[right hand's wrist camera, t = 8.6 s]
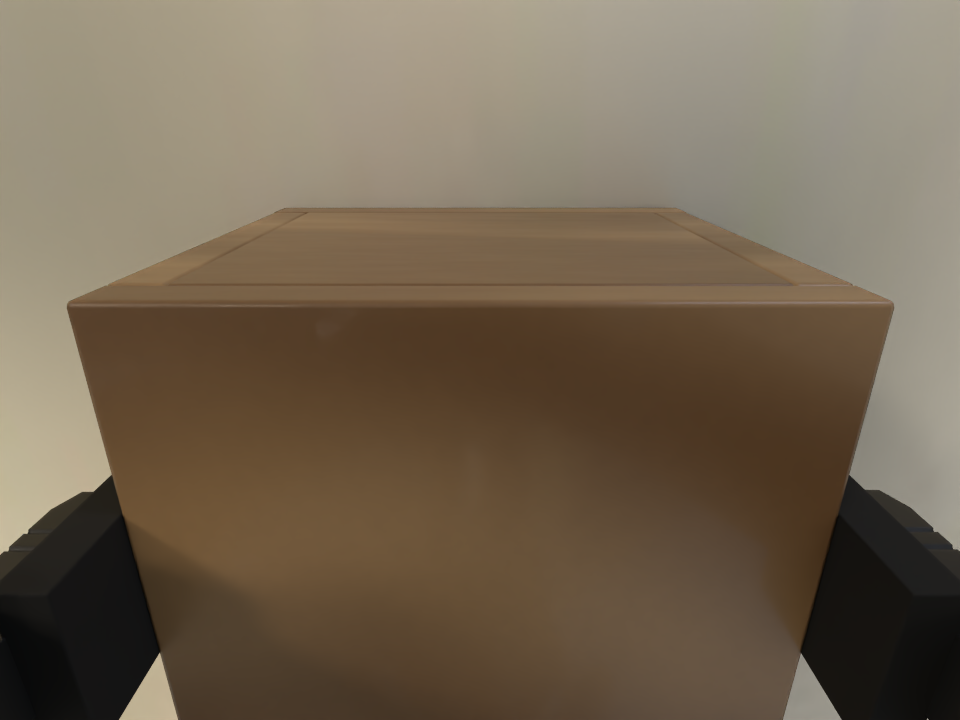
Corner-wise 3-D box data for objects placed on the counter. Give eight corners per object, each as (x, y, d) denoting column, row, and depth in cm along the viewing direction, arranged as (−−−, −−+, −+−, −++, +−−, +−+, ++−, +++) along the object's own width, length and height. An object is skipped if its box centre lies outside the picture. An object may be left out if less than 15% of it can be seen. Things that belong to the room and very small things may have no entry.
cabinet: (621, 668, 22) (708, 1003, 13) (339, 668, 22) (252, 1002, 13) (677, 207, 16) (899, 302, 7) (283, 207, 16) (61, 302, 7)
